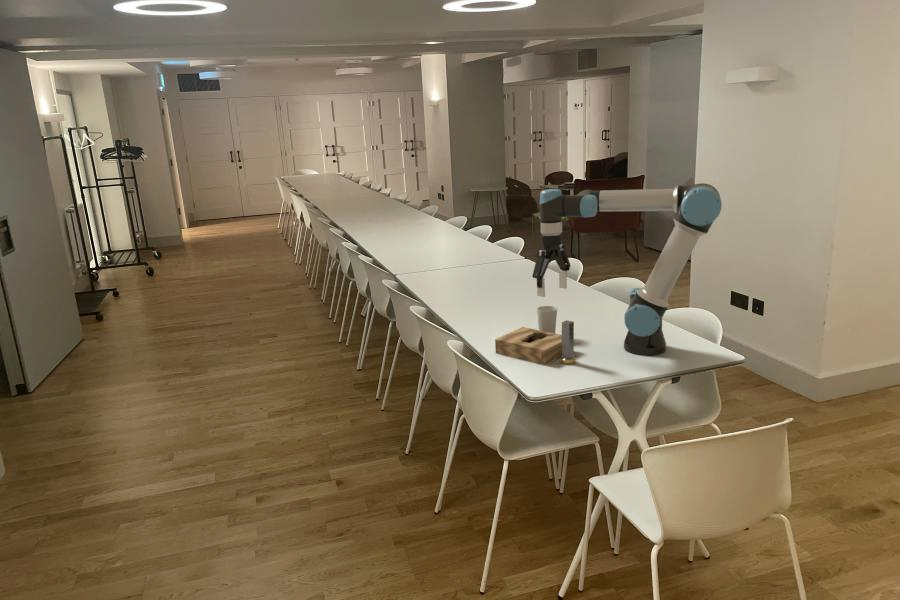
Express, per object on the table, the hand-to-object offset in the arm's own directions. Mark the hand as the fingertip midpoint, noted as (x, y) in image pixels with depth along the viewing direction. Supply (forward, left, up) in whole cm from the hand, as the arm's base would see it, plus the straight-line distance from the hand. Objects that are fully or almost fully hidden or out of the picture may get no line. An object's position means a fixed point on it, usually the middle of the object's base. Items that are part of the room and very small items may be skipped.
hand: (552, 292), depth 239 cm
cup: (+12, -15, -24) cm, 31 cm away
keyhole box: (+7, +2, -24) cm, 25 cm away
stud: (-9, +4, -24) cm, 26 cm away
